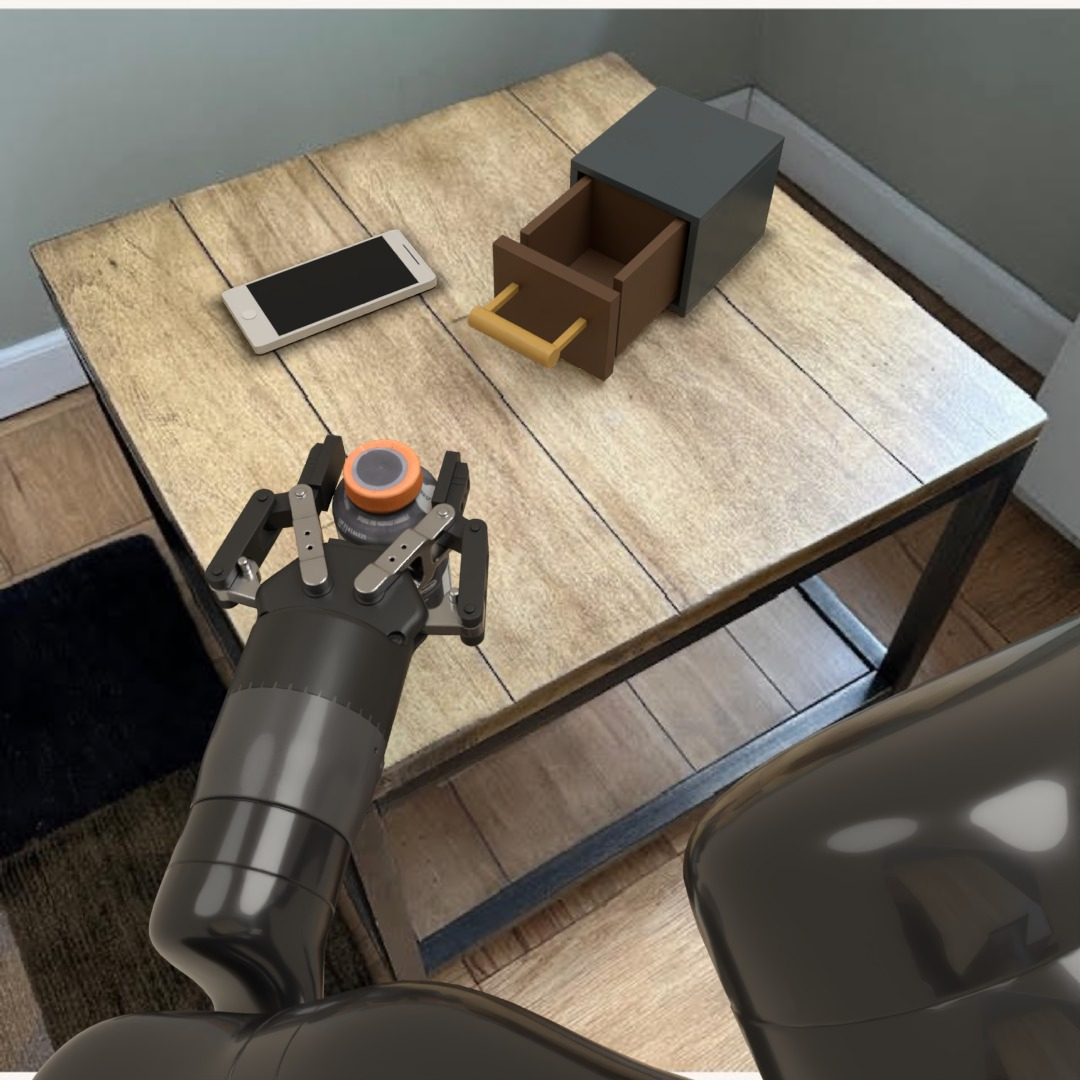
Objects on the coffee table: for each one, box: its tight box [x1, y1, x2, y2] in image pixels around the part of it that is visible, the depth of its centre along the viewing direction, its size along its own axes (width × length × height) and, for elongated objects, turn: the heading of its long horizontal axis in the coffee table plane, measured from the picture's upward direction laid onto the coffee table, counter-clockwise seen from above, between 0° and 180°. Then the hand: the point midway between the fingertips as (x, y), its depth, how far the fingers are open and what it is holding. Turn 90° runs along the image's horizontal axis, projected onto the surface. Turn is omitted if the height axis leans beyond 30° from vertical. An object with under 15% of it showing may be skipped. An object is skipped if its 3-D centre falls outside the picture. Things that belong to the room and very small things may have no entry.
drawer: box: [467, 174, 691, 383], centre depth 80 cm, size 16×10×8 cm, turn 143°
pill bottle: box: [331, 438, 453, 609], centre depth 60 cm, size 6×6×11 cm
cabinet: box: [569, 84, 786, 318], centre depth 87 cm, size 12×11×9 cm
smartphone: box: [221, 229, 438, 355], centre depth 86 cm, size 7×16×1 cm, turn 121°
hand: (395, 453), depth 59 cm, fingers closed on pill bottle, 6 cm apart
